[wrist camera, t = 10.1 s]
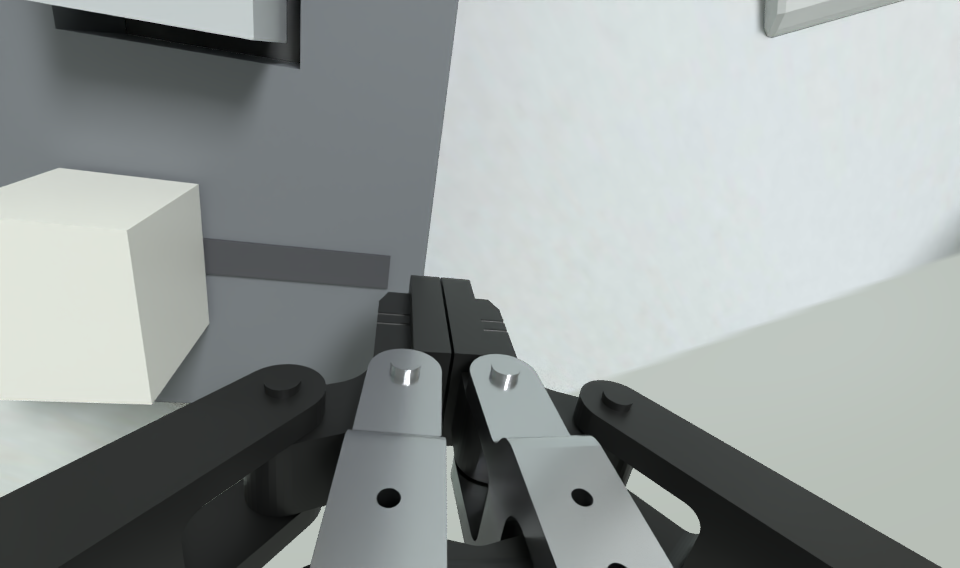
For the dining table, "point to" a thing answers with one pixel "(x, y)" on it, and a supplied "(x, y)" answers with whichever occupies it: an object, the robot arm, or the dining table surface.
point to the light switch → (811, 13)
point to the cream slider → (98, 286)
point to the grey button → (199, 15)
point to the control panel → (253, 162)
